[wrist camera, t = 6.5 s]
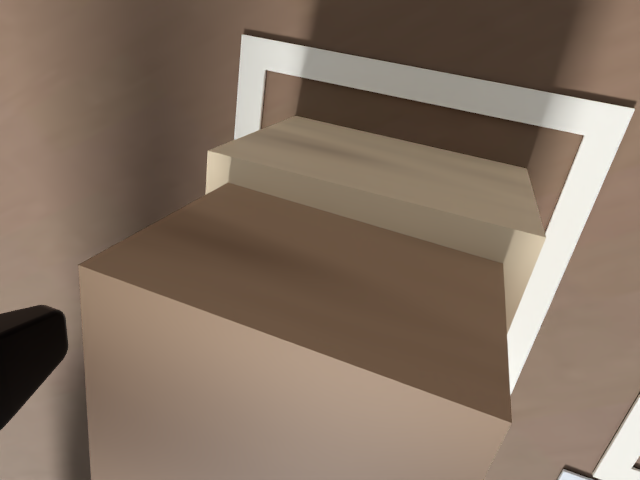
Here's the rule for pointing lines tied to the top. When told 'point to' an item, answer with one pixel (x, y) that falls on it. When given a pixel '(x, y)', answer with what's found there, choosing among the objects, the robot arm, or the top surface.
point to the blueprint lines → (497, 101)
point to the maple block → (394, 190)
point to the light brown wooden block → (290, 349)
